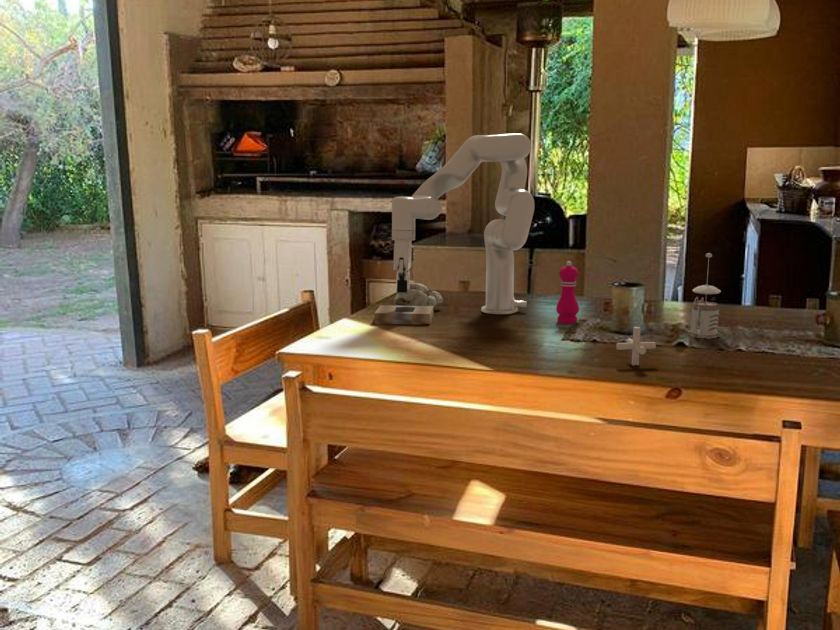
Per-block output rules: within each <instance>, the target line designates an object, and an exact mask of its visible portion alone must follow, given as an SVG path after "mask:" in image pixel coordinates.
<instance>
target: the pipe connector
mask: <svg viewBox="0 0 840 630" xmlns="http://www.w3.org/2000/svg"><path fill="white" fill-rule="evenodd" d="M632 329H633V330H632V338H627V339H626V342H616V344H615V345H616V348H615V349H616V350H620V351H621V350H631V366H635V365H637V366H639V364H640V355H645V354H646V353H647V350H651V349H653V350H654V349H656V346H657V345H656V344H657V343H656V342H655V341H641V329H642V328H641V327H640V326H633V328H632Z"/></svg>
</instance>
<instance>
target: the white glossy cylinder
mask: <svg viewBox="0 0 840 630" xmlns="http://www.w3.org/2000/svg"><path fill="white" fill-rule="evenodd" d="M395 272H396V278H395V280H396V281H395V282H396V284H395V285H396V286H395V292H396V295H397V294H410V283H411V271H409V272H408V271H407V276H406V280H407V292H406V293H402V292H397V280H398V271H395ZM404 274H405V273H404Z"/></svg>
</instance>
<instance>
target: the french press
mask: <svg viewBox="0 0 840 630" xmlns="http://www.w3.org/2000/svg"><path fill="white" fill-rule="evenodd" d="M712 257H713V254H712V253H711V252H708V253H706V254H705V258H707V259H708V261H707V269H709V267H710V263H709V262H710V258H712ZM706 273H707V276H706V284H702V285H698V286H696V287H694V288H693V289H692V293H695V294H700V295H705V299H707V295H717V294H721V292H722V291H721V289H719V288H718V287H716V286H714V285H709V284H708V279H709V271H707V272H706ZM692 304H693V306H692V307H691V316H690V317H691V318H690V330H689V332H690V331H691V332H692V333H694V334H698V335H716V334H717V333H718V328H719V326H718V325H719V317H720V316H719V315H720V309H719V308H718V306H719V304H718V303H717V302H713V301H712V302H711V301H707V300H705V301H704V297H701V299H700V300H699V296H696V297H695V298H694V301H693V302H692ZM699 314H700V315H699Z"/></svg>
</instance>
